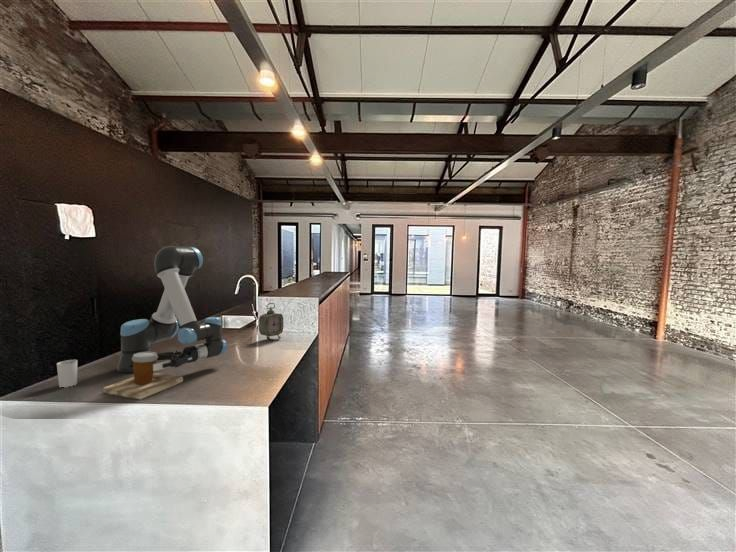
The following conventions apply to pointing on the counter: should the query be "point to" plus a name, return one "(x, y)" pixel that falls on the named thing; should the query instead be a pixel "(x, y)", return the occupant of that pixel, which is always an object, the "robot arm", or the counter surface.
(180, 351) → the robot arm
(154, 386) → the birch board
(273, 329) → the tabletop clock
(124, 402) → the counter surface
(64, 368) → the drinking glass
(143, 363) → the disposable coffee cup
